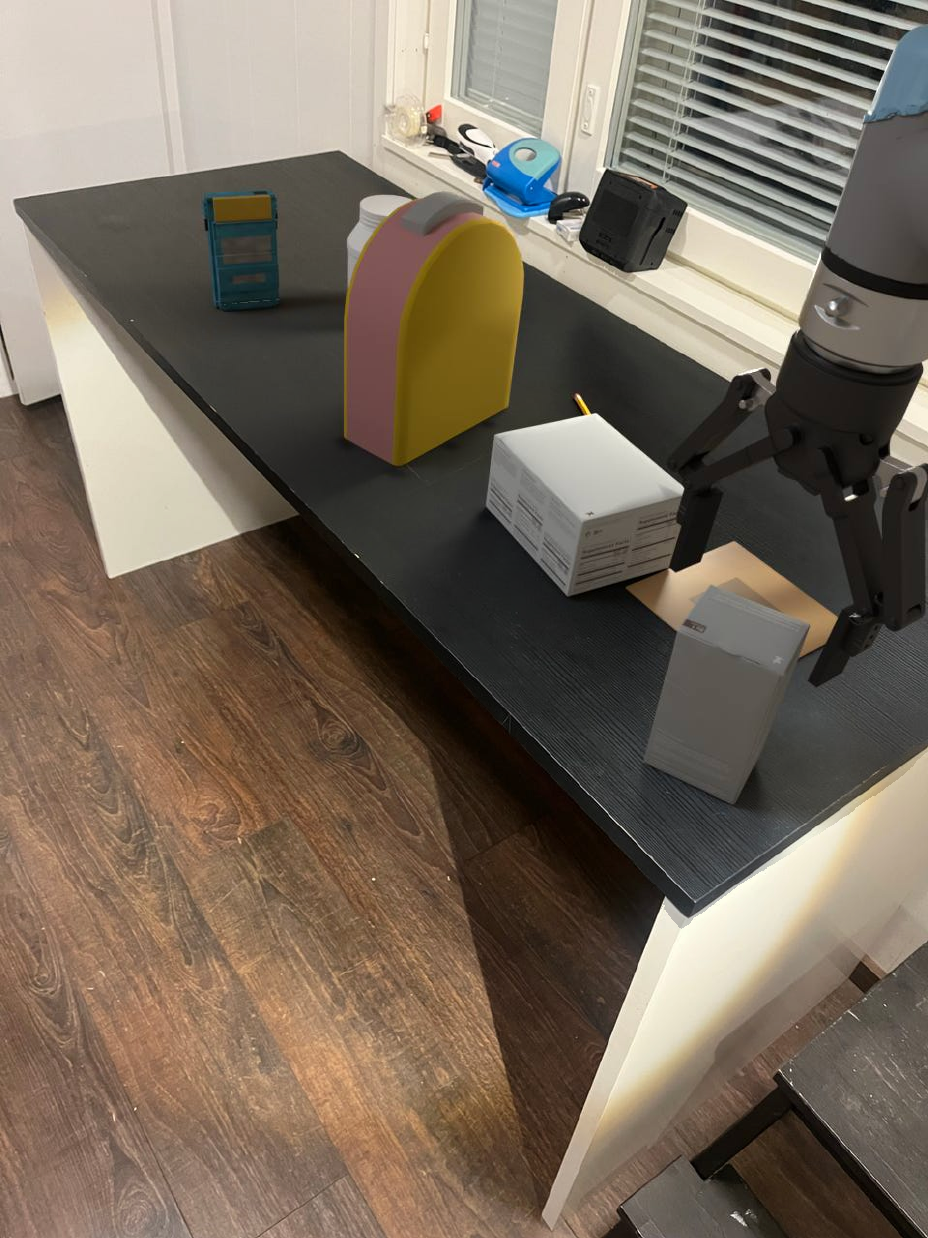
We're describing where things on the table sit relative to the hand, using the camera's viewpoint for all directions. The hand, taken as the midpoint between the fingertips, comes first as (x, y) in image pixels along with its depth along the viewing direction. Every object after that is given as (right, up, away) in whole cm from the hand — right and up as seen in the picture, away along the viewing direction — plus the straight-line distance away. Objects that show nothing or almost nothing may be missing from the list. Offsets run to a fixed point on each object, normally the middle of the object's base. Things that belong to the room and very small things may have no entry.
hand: (750, 618), depth 68 cm
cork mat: (+7, +1, +26) cm, 27 cm away
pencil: (-5, +24, +50) cm, 56 cm away
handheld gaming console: (-51, +44, +67) cm, 95 cm away
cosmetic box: (-1, -12, +11) cm, 16 cm away
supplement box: (-9, +9, +33) cm, 35 cm away
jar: (-32, +44, +69) cm, 88 cm away
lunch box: (-25, +24, +48) cm, 59 cm away
